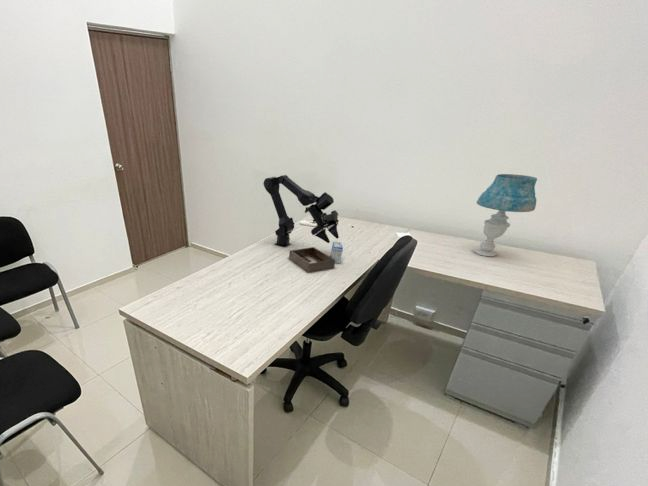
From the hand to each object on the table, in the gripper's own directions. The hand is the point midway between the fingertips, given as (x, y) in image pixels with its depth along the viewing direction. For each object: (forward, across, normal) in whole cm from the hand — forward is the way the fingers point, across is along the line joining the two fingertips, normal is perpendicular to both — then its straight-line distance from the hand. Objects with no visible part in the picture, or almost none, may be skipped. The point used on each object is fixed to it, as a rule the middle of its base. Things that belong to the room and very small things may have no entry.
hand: (333, 240), depth 168 cm
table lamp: (+48, +65, -34) cm, 87 cm away
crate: (+4, -12, +10) cm, 17 cm away
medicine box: (+9, 0, +5) cm, 11 cm away
